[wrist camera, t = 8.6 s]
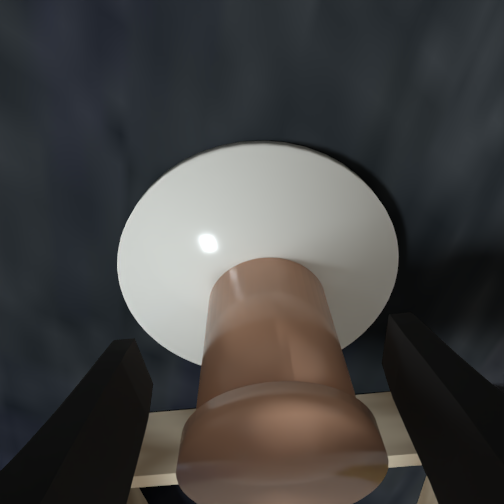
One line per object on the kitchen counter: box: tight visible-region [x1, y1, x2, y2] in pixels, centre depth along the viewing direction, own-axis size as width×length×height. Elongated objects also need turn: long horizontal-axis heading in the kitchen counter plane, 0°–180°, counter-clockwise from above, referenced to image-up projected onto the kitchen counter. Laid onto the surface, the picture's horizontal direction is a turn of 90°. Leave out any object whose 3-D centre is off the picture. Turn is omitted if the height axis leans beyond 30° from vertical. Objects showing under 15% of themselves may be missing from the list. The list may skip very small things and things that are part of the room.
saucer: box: [117, 140, 399, 365], centre depth 13 cm, size 10×10×1 cm
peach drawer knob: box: [176, 258, 389, 504], centre depth 11 cm, size 5×5×6 cm
